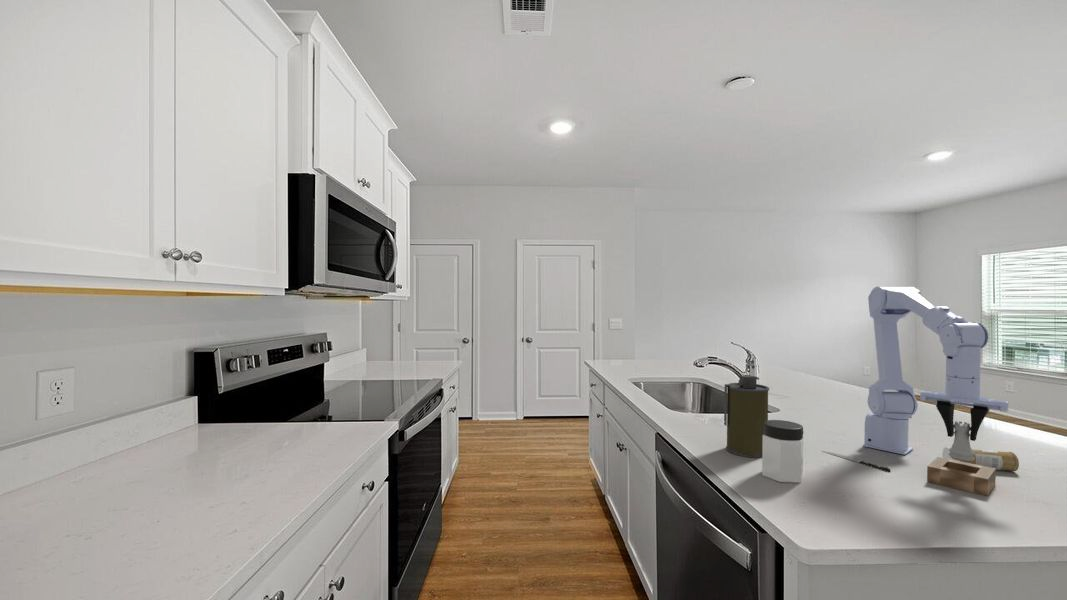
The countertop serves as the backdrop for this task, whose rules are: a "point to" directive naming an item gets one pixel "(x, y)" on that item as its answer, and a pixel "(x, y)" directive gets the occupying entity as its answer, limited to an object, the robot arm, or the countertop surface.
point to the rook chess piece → (961, 443)
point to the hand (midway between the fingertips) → (961, 437)
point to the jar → (782, 451)
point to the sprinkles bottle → (990, 459)
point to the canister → (745, 416)
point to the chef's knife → (858, 461)
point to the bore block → (962, 475)
